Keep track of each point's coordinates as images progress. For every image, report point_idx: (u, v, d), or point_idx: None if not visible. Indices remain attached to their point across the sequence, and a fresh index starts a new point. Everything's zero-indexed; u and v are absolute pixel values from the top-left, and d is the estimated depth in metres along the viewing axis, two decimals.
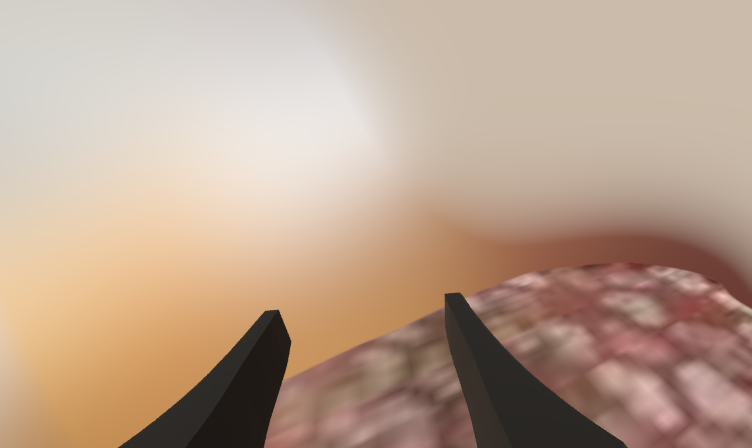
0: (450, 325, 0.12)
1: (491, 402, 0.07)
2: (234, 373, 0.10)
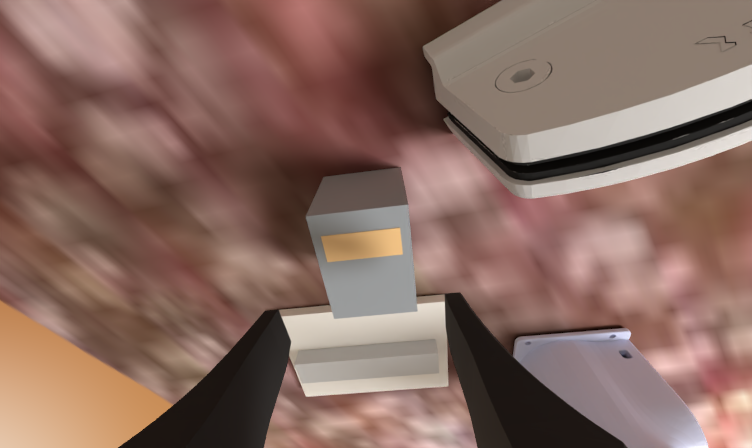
0: (450, 325, 0.12)
1: (491, 402, 0.07)
2: (234, 373, 0.10)
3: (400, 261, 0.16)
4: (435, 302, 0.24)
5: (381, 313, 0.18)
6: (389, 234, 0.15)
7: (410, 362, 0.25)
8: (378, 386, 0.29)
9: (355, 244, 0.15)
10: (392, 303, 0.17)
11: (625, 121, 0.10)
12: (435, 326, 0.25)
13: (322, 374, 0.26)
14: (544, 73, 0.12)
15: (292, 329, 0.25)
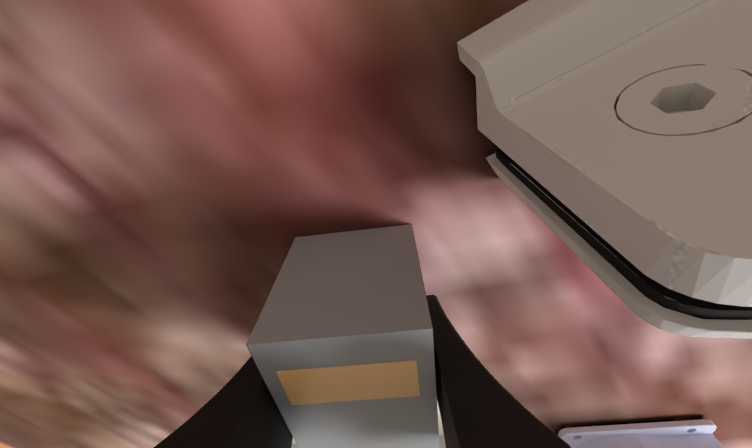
0: None
1: (449, 405, 0.07)
2: None
3: (416, 403, 0.09)
4: None
5: None
6: (396, 370, 0.08)
7: None
8: None
9: (338, 383, 0.09)
10: None
11: None
12: None
13: None
14: (743, 96, 0.06)
15: None
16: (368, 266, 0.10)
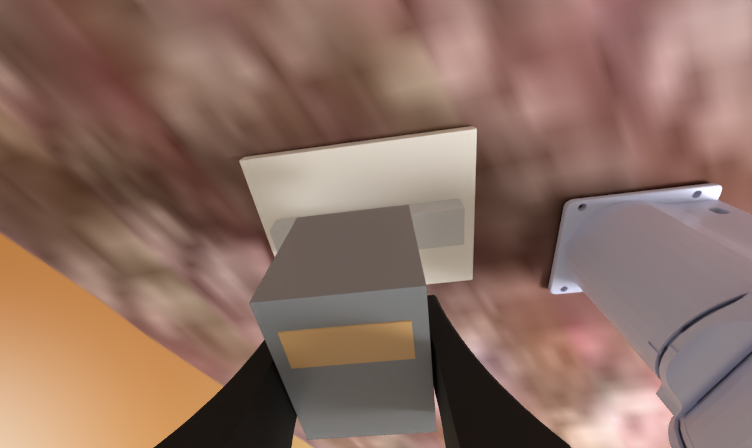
0: None
1: (449, 405, 0.07)
2: (265, 371, 0.09)
3: (411, 367, 0.10)
4: (461, 132, 0.17)
5: (380, 434, 0.11)
6: (392, 331, 0.09)
7: (426, 225, 0.18)
8: None
9: (336, 344, 0.09)
10: (397, 421, 0.11)
11: None
12: (460, 175, 0.18)
13: None
14: None
15: (266, 182, 0.19)
16: (366, 239, 0.11)
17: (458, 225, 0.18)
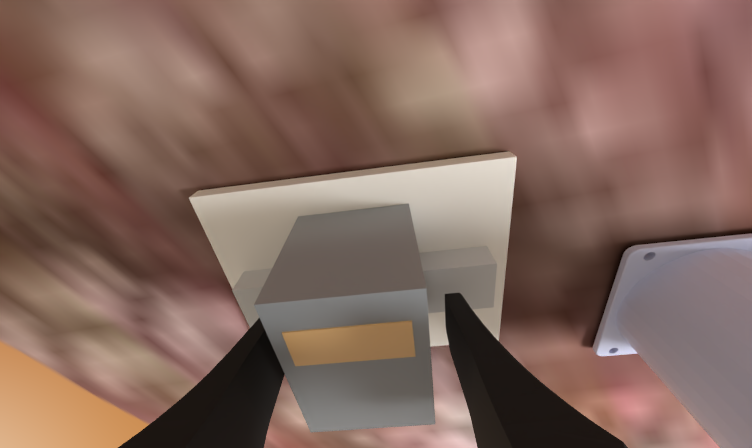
0: (450, 325, 0.12)
1: (491, 402, 0.07)
2: (234, 373, 0.10)
3: (411, 365, 0.10)
4: (495, 161, 0.12)
5: (381, 426, 0.12)
6: (394, 331, 0.09)
7: (443, 285, 0.14)
8: None
9: (338, 343, 0.09)
10: (397, 415, 0.11)
11: None
12: (490, 217, 0.13)
13: None
14: None
15: (228, 225, 0.14)
16: (367, 239, 0.11)
17: (487, 284, 0.14)
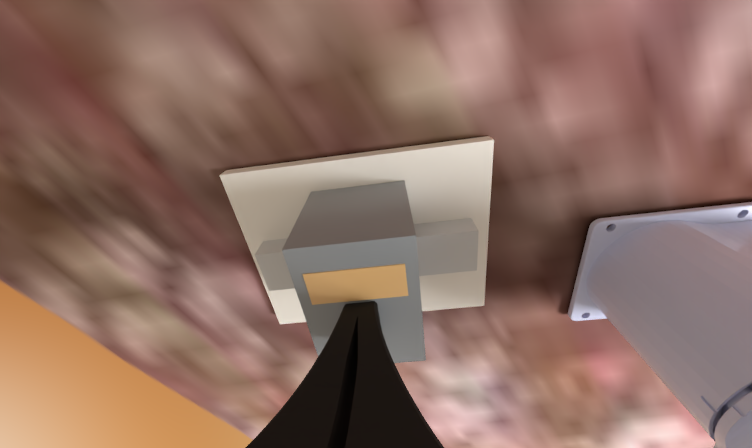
0: None
1: (351, 412, 0.08)
2: (342, 364, 0.09)
3: (405, 303, 0.12)
4: (476, 143, 0.15)
5: None
6: (390, 272, 0.12)
7: (434, 249, 0.16)
8: None
9: (347, 284, 0.12)
10: (394, 351, 0.14)
11: None
12: (473, 192, 0.16)
13: None
14: None
15: (251, 199, 0.16)
16: (369, 205, 0.13)
17: (471, 249, 0.16)
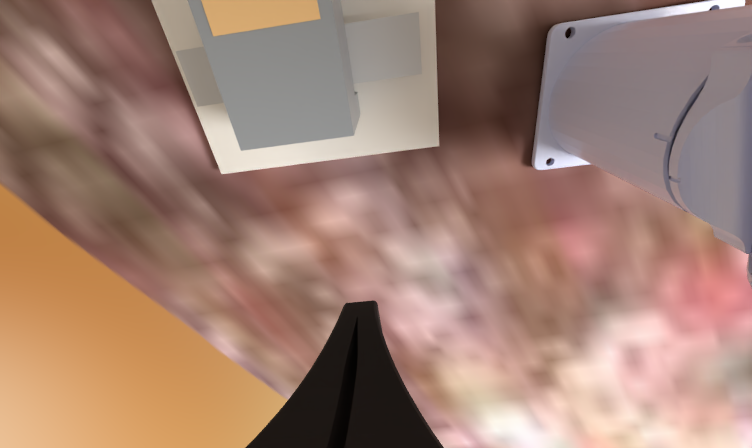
0: None
1: (351, 412, 0.08)
2: (342, 364, 0.09)
3: (319, 35, 0.11)
4: None
5: (304, 139, 0.13)
6: None
7: (372, 42, 0.15)
8: (330, 148, 0.19)
9: None
10: (317, 120, 0.12)
11: None
12: None
13: None
14: None
15: None
16: None
17: (412, 41, 0.14)
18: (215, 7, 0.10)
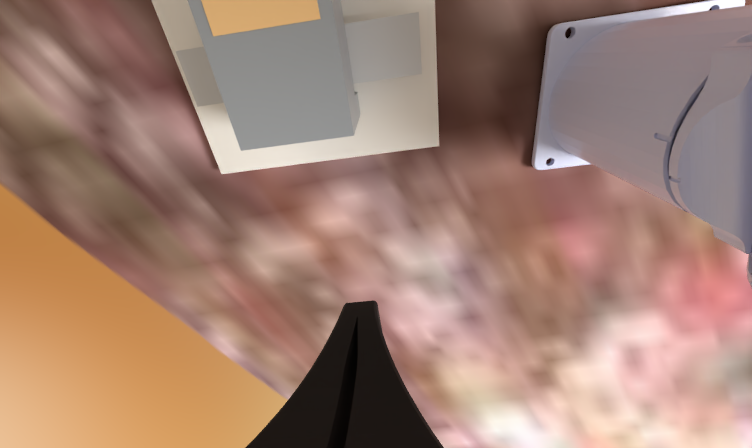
0: None
1: (351, 412, 0.08)
2: (342, 364, 0.09)
3: (319, 35, 0.11)
4: None
5: (304, 139, 0.13)
6: None
7: (372, 42, 0.15)
8: (330, 148, 0.19)
9: None
10: (317, 120, 0.12)
11: None
12: None
13: None
14: None
15: None
16: None
17: (412, 41, 0.14)
18: (215, 7, 0.10)
